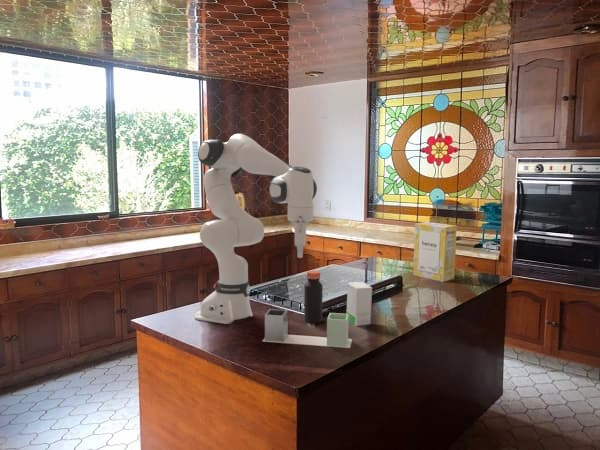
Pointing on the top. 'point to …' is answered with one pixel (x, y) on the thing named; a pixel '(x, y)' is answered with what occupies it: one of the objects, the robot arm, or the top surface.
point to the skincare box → (359, 303)
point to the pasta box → (435, 251)
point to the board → (309, 340)
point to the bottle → (313, 298)
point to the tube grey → (276, 325)
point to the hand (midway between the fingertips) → (300, 254)
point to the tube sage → (337, 329)
